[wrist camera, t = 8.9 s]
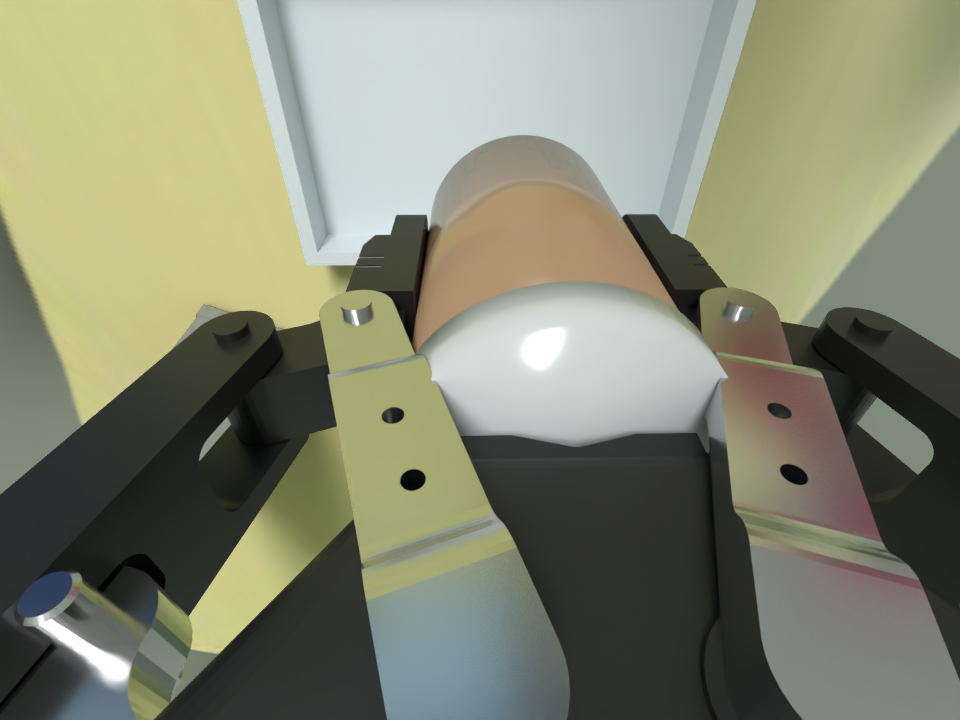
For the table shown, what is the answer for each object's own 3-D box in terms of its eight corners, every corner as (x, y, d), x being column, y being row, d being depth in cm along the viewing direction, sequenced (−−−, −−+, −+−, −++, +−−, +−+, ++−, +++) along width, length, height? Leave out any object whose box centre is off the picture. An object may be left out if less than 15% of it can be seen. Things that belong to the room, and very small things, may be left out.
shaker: (419, 130, 11) (362, 329, 5) (627, 130, 11) (815, 326, 5) (432, 305, 14) (406, 555, 8) (593, 304, 15) (685, 551, 8)
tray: (235, -112, 20) (204, -123, 17) (755, -109, 20) (792, -118, 18) (319, 242, 30) (306, 265, 28) (660, 240, 30) (676, 262, 28)
